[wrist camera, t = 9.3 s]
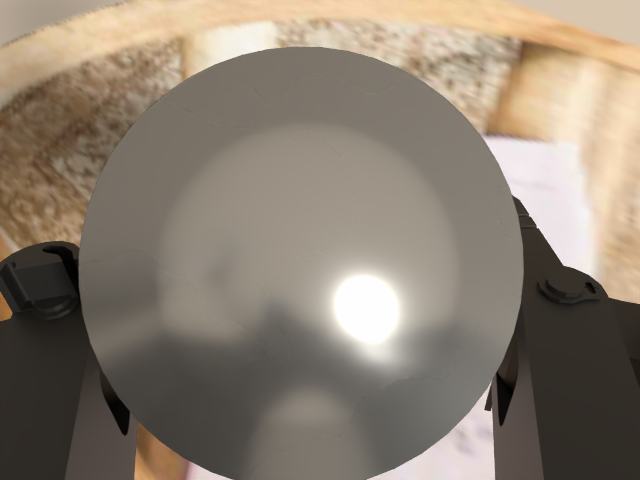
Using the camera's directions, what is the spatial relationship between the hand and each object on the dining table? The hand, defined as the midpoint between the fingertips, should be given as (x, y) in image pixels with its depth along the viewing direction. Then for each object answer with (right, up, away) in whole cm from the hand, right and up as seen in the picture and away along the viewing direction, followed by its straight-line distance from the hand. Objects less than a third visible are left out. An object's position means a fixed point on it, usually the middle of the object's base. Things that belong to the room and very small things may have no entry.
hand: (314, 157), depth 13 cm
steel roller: (0, -4, +3) cm, 5 cm away
